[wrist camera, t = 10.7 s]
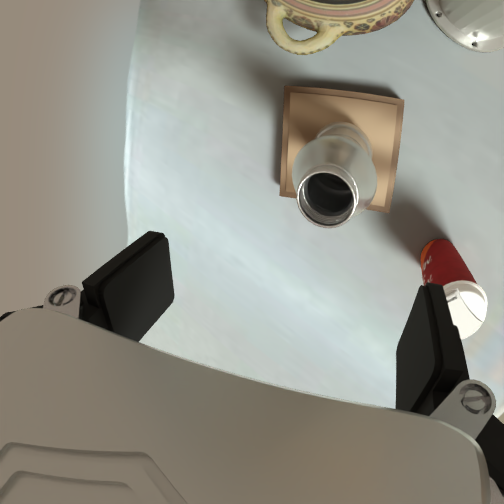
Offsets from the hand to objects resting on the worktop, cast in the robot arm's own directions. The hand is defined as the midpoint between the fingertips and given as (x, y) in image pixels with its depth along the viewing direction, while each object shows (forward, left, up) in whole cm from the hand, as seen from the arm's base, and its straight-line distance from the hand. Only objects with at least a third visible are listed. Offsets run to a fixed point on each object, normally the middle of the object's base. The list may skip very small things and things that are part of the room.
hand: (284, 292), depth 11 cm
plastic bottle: (0, 0, -29) cm, 29 cm away
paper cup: (+13, +16, -33) cm, 38 cm away
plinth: (0, 0, -32) cm, 32 cm away
